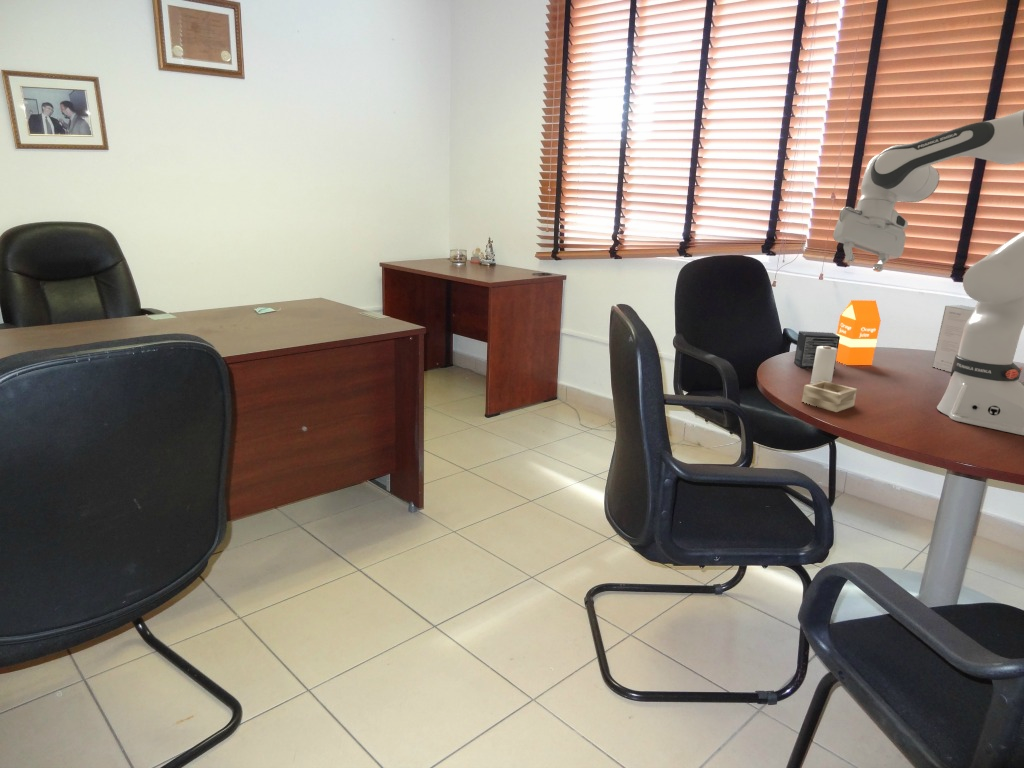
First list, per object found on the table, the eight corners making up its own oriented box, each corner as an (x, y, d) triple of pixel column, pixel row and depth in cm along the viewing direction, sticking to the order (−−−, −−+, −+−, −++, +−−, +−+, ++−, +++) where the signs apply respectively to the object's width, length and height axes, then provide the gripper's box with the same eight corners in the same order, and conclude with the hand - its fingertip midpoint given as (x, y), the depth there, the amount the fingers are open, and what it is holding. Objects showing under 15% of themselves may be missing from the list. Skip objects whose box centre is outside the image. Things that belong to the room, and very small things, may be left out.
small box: (827, 364, 206) (833, 332, 203) (835, 370, 200) (841, 336, 197) (792, 362, 207) (798, 330, 204) (799, 368, 201) (805, 334, 198)
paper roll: (832, 392, 177) (841, 347, 173) (823, 395, 174) (831, 349, 170) (815, 387, 181) (822, 343, 177) (805, 390, 178) (813, 345, 174)
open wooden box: (853, 406, 166) (857, 389, 165) (836, 412, 161) (839, 394, 159) (819, 396, 173) (822, 380, 172) (801, 402, 168) (804, 385, 166)
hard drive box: (996, 379, 197) (1013, 313, 191) (979, 380, 194) (996, 314, 189) (946, 365, 211) (961, 304, 205) (930, 367, 208) (944, 304, 202)
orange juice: (831, 359, 213) (842, 298, 207) (855, 359, 215) (867, 298, 209) (846, 365, 206) (859, 302, 200) (872, 365, 207) (885, 302, 201)
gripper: (851, 201, 169) (840, 253, 169) (913, 224, 175) (902, 274, 174) (833, 207, 175) (822, 257, 175) (893, 228, 181) (883, 277, 180)
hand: (863, 266), depth 174 cm, fingers open, 8 cm apart
